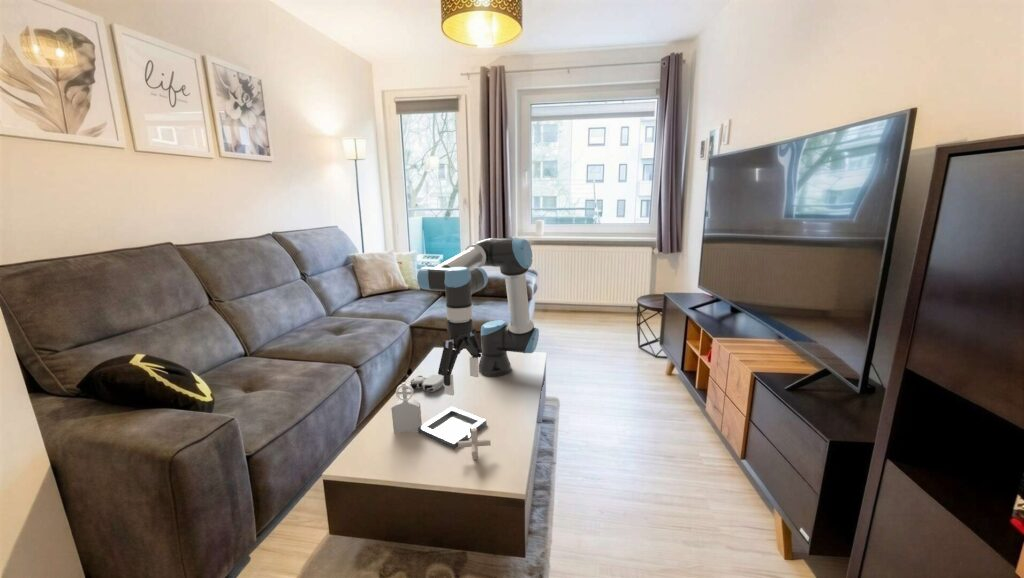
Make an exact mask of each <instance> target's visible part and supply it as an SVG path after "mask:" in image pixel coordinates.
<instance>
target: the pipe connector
mask: <svg viewBox="0 0 1024 578" xmlns="http://www.w3.org/2000/svg"><path fill="white" fill-rule="evenodd" d="M470 438H471V440H466V441H458V447H457V448H471V457H472V459H473V460H479V449H478V447H485V446H486V447H487V446H492V445H491V439H490V438H489V439H478V432H477V429H476V428H472V429H471V437H470Z"/></svg>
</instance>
